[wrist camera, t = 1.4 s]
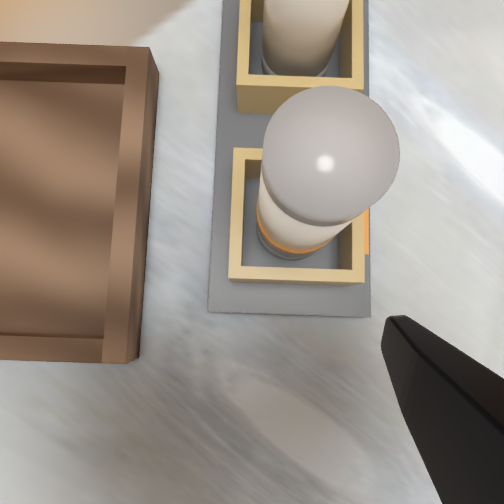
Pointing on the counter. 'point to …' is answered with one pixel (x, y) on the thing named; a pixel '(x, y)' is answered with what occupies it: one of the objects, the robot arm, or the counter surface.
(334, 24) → the cylinder
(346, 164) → the ball
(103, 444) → the counter surface
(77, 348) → the tray
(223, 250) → the block
